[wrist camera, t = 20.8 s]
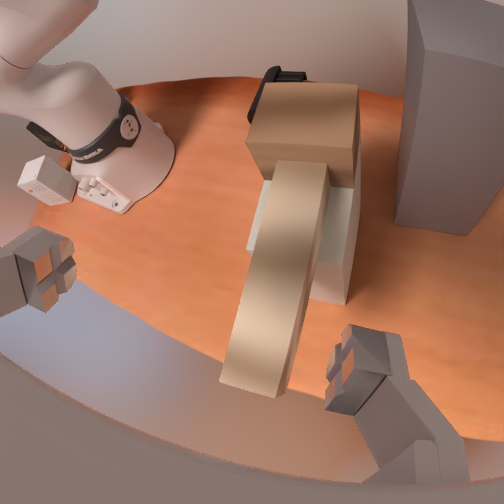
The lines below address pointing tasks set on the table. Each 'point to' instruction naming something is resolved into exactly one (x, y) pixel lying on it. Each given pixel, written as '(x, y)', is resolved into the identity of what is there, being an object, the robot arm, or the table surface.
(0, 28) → the robot arm
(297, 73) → the end cap
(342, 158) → the mallet
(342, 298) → the stand
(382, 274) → the table surface
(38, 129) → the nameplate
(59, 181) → the small box
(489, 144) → the pedestal
